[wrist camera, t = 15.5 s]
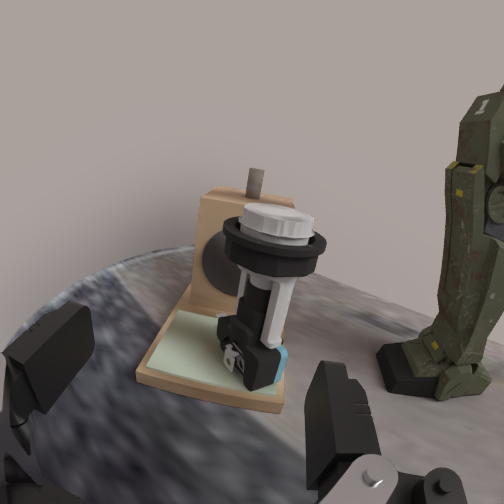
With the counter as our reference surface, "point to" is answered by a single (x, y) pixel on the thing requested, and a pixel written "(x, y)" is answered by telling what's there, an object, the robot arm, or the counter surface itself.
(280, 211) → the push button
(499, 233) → the mechanical leg
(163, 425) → the counter surface
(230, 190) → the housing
